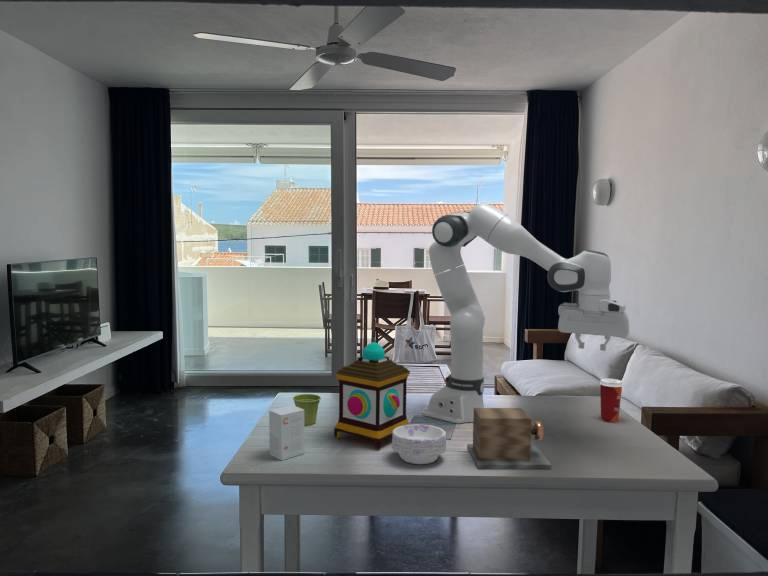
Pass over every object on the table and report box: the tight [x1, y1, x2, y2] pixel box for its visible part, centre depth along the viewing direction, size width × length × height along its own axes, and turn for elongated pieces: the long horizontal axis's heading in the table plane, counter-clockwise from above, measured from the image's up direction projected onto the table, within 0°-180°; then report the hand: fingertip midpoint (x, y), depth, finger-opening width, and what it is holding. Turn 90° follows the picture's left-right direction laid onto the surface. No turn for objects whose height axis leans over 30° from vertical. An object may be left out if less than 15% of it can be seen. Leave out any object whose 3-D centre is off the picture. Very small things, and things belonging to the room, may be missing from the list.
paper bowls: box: [391, 423, 447, 465], centre depth 157 cm, size 15×15×8 cm
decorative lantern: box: [333, 341, 411, 451], centre depth 174 cm, size 20×20×30 cm
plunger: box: [531, 420, 545, 441], centre depth 158 cm, size 17×6×5 cm, turn 92°
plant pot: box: [292, 393, 322, 426], centre depth 188 cm, size 9×9×9 cm
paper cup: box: [599, 377, 624, 423], centre depth 195 cm, size 8×8×14 cm
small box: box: [268, 405, 306, 461], centre depth 159 cm, size 8×6×13 cm
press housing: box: [466, 407, 553, 470], centre depth 158 cm, size 20×16×13 cm
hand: (592, 349), depth 170 cm, fingers open, 5 cm apart
